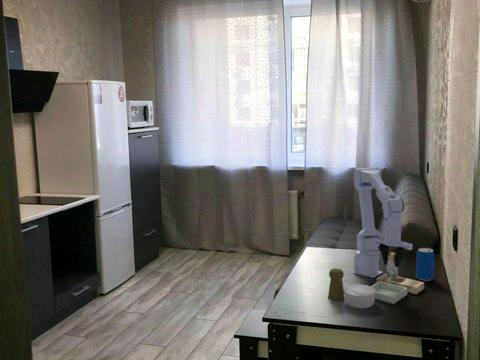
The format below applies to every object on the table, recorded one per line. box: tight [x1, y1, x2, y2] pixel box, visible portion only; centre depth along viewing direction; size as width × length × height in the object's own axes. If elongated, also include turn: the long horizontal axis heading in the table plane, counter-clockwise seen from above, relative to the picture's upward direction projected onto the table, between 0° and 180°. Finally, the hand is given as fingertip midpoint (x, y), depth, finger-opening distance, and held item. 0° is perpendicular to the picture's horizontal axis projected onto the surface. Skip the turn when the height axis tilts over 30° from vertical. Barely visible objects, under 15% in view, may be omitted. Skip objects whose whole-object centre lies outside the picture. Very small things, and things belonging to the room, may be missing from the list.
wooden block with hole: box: [376, 273, 425, 295], centre depth 198 cm, size 16×7×2 cm, turn 48°
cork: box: [327, 268, 346, 302], centre depth 188 cm, size 6×6×11 cm
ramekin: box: [343, 283, 376, 309], centre depth 183 cm, size 11×11×5 cm
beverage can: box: [415, 247, 435, 282], centre depth 205 cm, size 6×6×12 cm
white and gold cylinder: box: [386, 252, 399, 278], centre depth 192 cm, size 4×4×8 cm
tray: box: [370, 281, 408, 305], centre depth 190 cm, size 11×11×3 cm
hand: (391, 265), depth 192 cm, fingers closed on white and gold cylinder, 4 cm apart
